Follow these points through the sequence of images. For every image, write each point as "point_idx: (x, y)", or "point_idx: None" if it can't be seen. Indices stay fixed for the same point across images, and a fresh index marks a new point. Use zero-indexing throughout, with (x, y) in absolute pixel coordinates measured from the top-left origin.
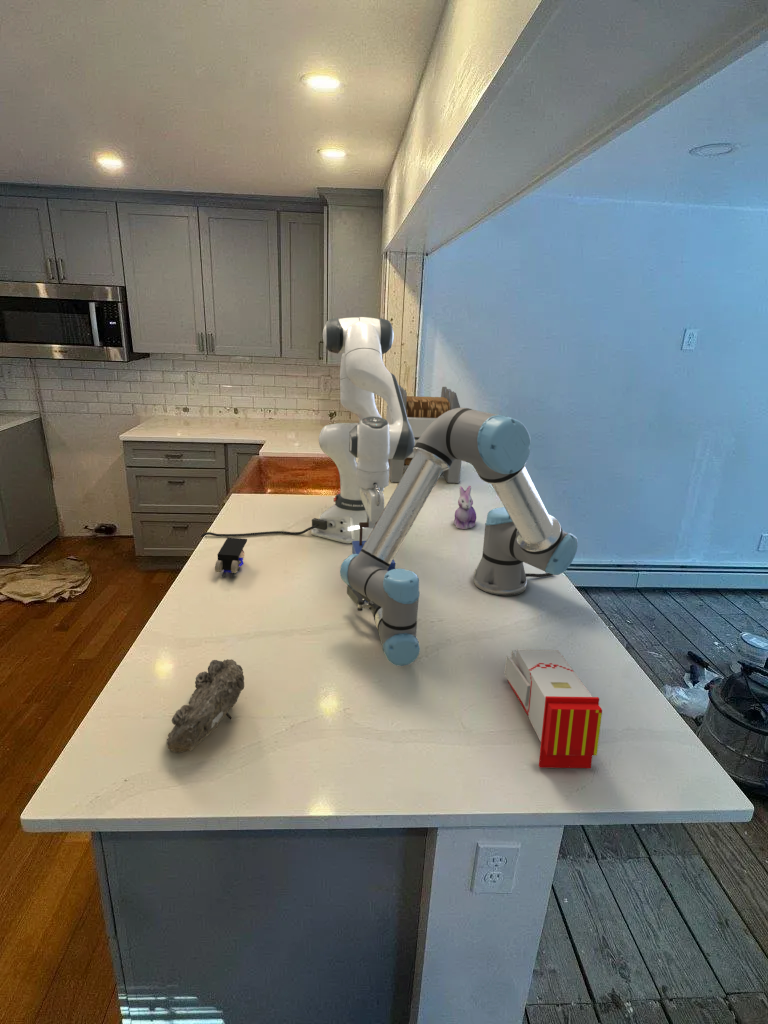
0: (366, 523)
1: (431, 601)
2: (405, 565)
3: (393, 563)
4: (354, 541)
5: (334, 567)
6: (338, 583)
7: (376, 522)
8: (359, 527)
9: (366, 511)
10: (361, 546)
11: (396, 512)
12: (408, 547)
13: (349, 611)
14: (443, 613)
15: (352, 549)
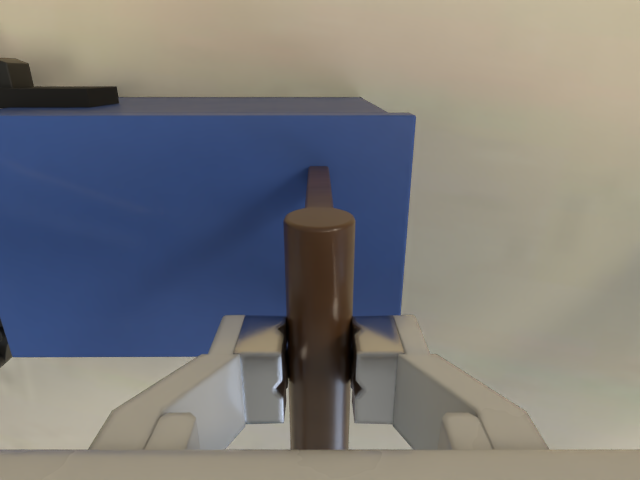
0: (300, 309)
1: (141, 378)
2: (453, 352)
3: (11, 345)
4: (399, 134)
5: (507, 15)
6: (312, 18)
7: (312, 418)
8: (311, 207)
9: (110, 465)
10: (288, 178)
11: None
12: (625, 396)
13: (24, 43)
14: (57, 395)
15: (369, 110)
